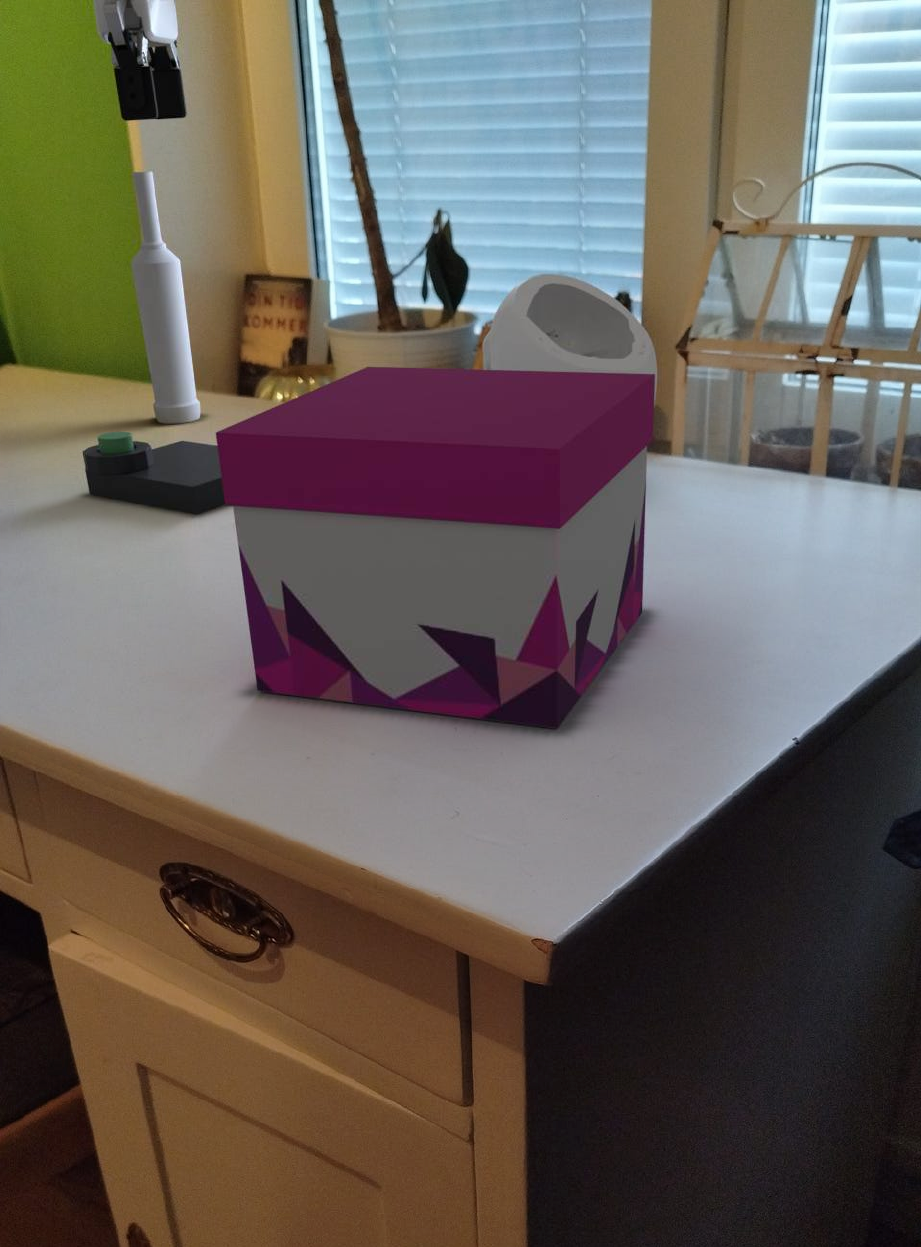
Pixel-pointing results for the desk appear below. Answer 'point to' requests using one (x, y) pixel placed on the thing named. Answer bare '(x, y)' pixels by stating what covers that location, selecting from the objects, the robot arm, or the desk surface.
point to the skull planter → (563, 305)
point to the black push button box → (158, 476)
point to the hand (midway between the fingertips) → (155, 119)
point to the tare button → (115, 442)
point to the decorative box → (443, 536)
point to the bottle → (163, 314)
